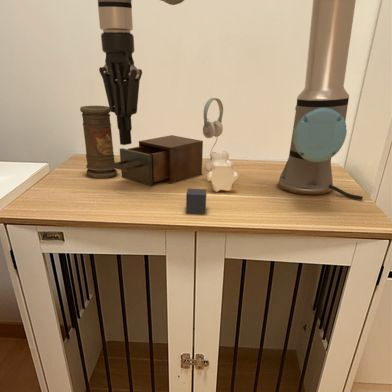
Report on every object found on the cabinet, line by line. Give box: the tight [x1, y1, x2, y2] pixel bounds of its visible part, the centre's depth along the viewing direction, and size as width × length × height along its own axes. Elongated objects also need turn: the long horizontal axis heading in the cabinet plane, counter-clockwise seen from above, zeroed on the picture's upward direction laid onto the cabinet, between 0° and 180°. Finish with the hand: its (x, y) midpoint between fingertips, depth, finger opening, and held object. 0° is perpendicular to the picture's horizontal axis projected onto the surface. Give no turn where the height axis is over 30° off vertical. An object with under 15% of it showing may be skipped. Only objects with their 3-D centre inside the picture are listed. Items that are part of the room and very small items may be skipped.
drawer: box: [109, 145, 169, 186], centre depth 117 cm, size 20×11×8 cm, turn 141°
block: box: [185, 188, 207, 215], centre depth 99 cm, size 5×5×5 cm
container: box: [79, 105, 118, 179], centre depth 120 cm, size 9×9×18 cm
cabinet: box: [138, 134, 204, 184], centre depth 124 cm, size 15×13×10 cm
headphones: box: [202, 97, 224, 152], centre depth 128 cm, size 8×4×20 cm, turn 139°
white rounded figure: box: [204, 150, 239, 193], centre depth 116 cm, size 15×9×8 cm, turn 2°
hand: (125, 143), depth 109 cm, fingers closed
